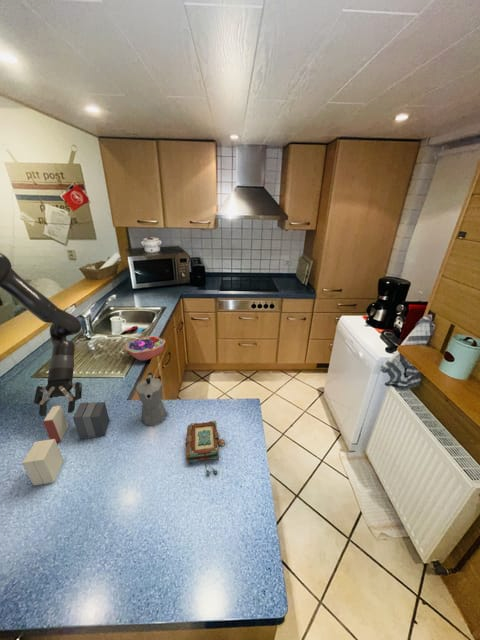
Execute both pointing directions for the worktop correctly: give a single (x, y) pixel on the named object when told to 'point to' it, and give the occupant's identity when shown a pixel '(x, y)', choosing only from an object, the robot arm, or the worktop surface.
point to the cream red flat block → (56, 423)
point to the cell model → (145, 347)
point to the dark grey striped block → (91, 419)
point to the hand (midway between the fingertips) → (56, 414)
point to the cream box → (43, 462)
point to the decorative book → (202, 442)
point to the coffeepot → (151, 400)
